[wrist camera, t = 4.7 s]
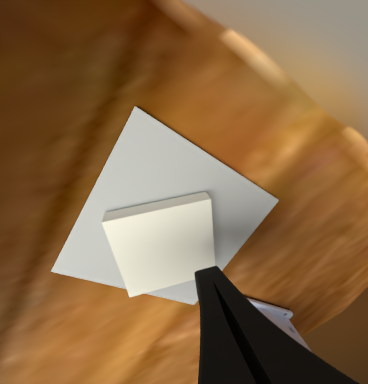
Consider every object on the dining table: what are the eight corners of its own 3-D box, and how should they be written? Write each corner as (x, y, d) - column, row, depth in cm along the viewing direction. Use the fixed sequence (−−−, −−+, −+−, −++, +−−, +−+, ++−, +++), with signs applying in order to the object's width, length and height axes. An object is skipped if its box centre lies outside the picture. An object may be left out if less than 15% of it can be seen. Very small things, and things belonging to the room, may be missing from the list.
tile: (211, 198, 12) (101, 222, 11) (215, 273, 15) (129, 297, 14) (204, 190, 14) (105, 211, 13) (209, 261, 17) (130, 282, 16)
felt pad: (276, 198, 16) (279, 200, 15) (192, 301, 19) (193, 304, 19) (135, 106, 11) (135, 105, 10) (53, 267, 14) (50, 271, 14)
